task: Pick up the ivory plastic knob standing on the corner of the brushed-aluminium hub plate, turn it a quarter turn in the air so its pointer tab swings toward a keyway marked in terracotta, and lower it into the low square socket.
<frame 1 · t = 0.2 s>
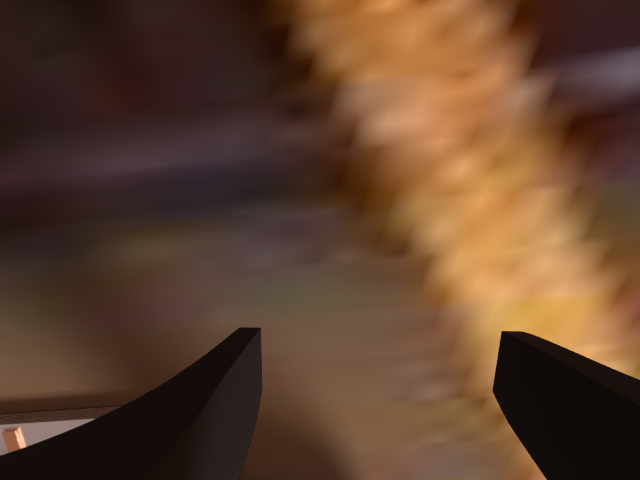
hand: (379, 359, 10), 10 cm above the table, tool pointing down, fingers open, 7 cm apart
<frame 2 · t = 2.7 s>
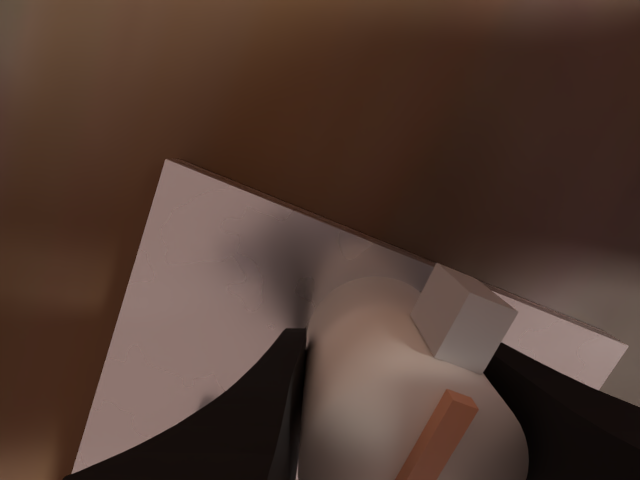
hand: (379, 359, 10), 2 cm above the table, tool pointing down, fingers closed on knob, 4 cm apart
knob: (373, 339, 11), point 1 cm above the table, touching gripper, hub plate
hub plate: (306, 453, 14), on the table
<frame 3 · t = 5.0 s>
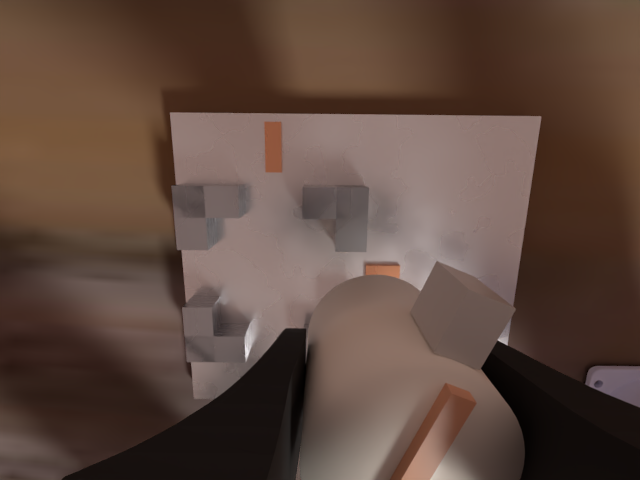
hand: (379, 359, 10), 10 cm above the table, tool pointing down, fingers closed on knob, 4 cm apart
knob: (373, 336, 12), point 8 cm above the table, touching gripper
hub plate: (349, 265, 20), on the table
when the fingers open (3 cm above the table, at t = 7.5 s): knob stays where it is, resting on hub plate.
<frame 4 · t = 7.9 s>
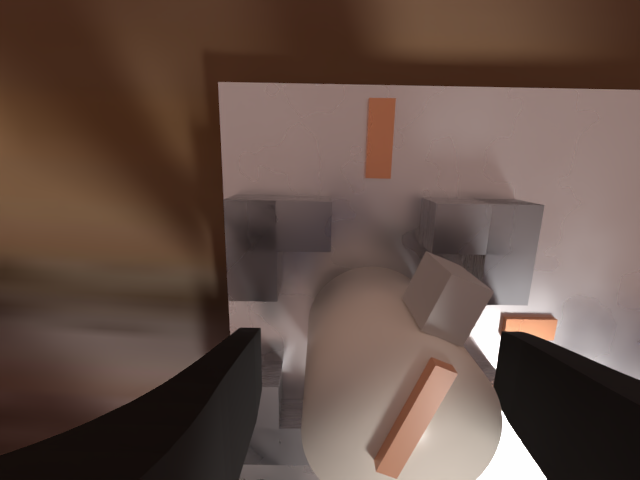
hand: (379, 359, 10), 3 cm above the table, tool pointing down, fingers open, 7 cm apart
knob: (369, 324, 12), point 1 cm above the table, touching hub plate
hub plate: (468, 314, 13), on the table
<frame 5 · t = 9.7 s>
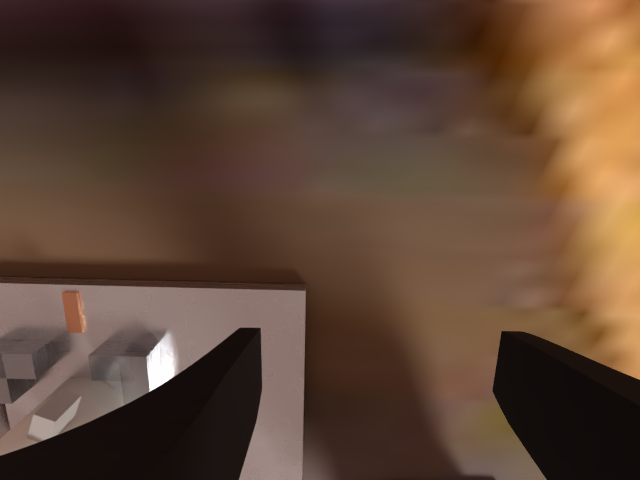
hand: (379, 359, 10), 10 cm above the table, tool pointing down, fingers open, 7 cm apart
knob: (89, 409, 21), point 1 cm above the table, touching hub plate
hub plate: (162, 399, 22), on the table
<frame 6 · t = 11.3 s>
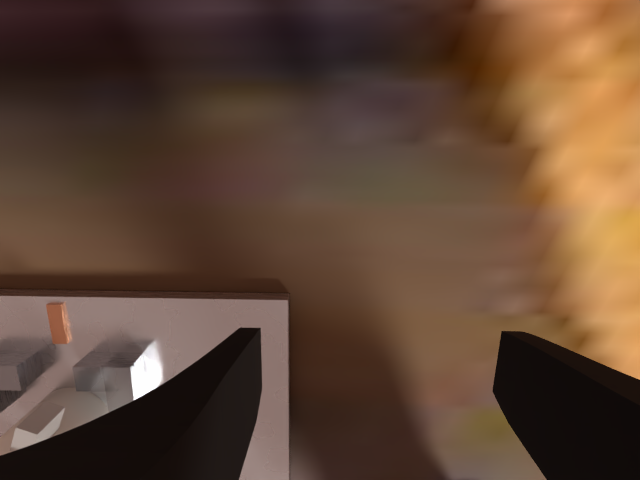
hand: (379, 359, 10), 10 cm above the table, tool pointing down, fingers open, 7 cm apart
knob: (76, 418, 21), point 1 cm above the table, touching hub plate
hub plate: (149, 408, 22), on the table
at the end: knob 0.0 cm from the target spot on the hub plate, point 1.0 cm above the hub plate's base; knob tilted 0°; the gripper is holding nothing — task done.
